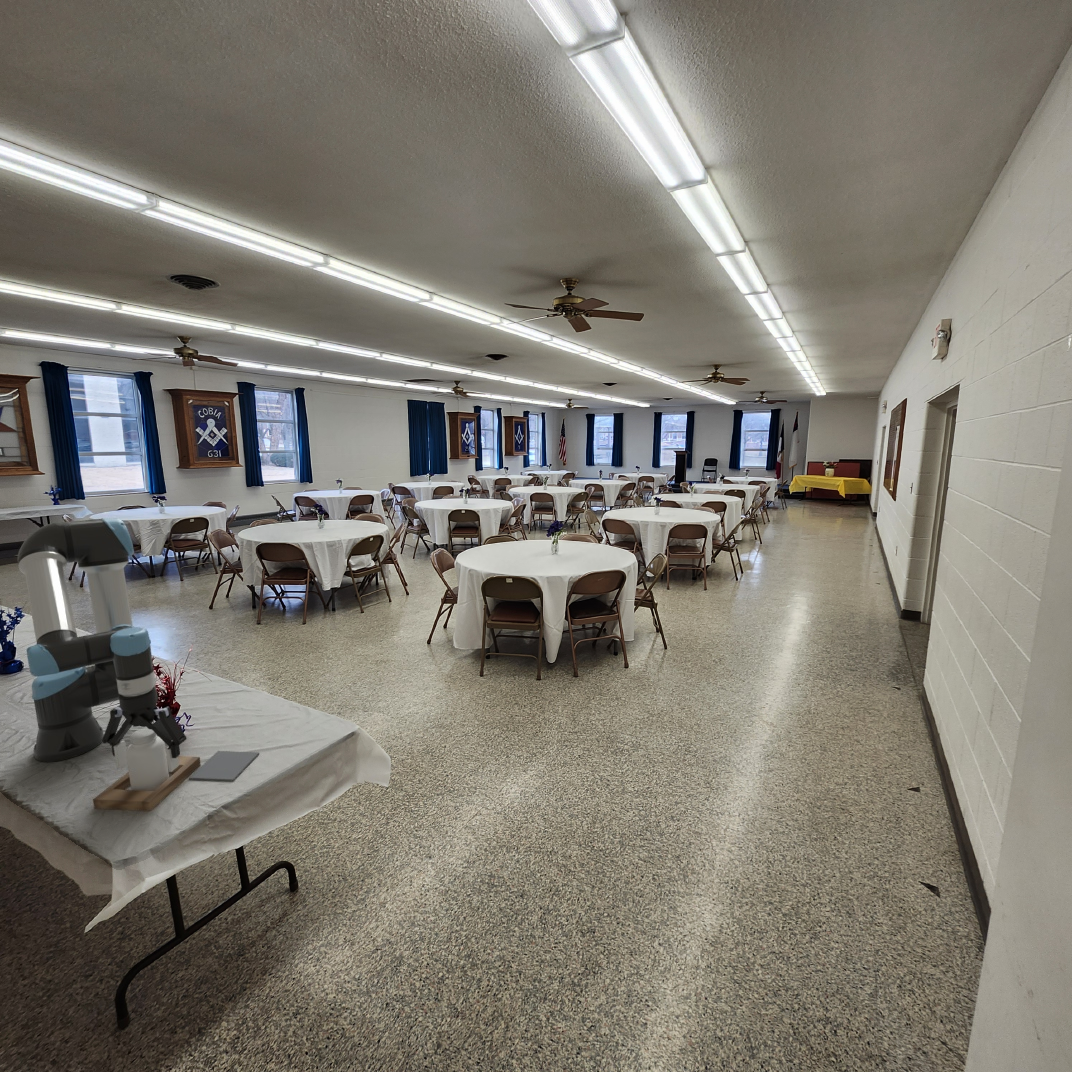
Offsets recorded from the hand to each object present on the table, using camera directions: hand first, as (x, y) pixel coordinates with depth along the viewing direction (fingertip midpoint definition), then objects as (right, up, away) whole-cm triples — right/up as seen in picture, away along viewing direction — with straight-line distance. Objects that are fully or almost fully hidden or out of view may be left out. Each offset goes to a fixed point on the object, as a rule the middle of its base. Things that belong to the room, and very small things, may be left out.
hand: (148, 767), depth 135 cm
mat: (+14, -4, +9) cm, 17 cm away
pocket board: (0, -5, +1) cm, 5 cm away
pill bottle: (0, -5, +1) cm, 5 cm away
